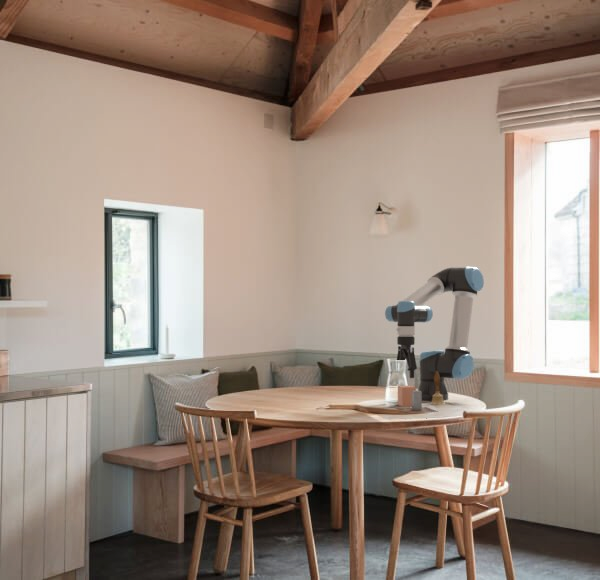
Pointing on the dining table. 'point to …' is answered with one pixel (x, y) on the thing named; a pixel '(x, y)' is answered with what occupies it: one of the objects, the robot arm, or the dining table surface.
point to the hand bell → (437, 391)
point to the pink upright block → (405, 395)
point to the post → (416, 400)
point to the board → (409, 410)
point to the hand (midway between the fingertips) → (405, 384)
